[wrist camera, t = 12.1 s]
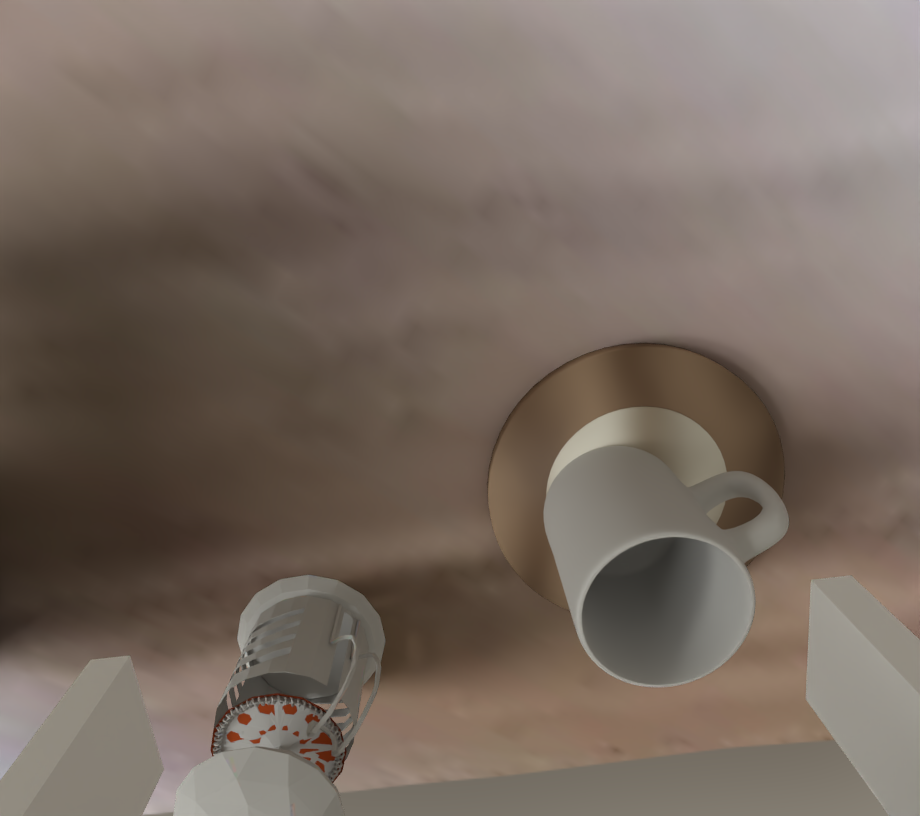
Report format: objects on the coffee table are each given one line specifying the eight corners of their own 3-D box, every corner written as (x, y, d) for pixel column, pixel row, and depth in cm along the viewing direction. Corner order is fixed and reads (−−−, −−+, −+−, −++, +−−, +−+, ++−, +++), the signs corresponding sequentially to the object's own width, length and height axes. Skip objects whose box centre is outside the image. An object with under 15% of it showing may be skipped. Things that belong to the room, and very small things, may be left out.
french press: (206, 638, 46) (-48, 1116, 22) (327, 528, 44) (188, 928, 20) (315, 725, 49) (189, 1243, 25) (435, 625, 46) (425, 1087, 22)
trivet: (502, 624, 46) (505, 650, 44) (471, 362, 41) (473, 374, 38) (773, 593, 46) (792, 617, 44) (778, 325, 41) (801, 334, 38)
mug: (581, 593, 44) (623, 718, 34) (517, 486, 42) (541, 585, 32) (756, 505, 43) (856, 607, 32) (699, 389, 40) (787, 459, 30)
